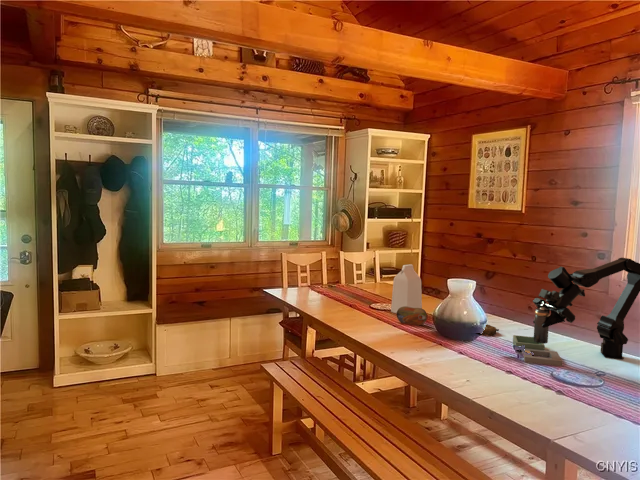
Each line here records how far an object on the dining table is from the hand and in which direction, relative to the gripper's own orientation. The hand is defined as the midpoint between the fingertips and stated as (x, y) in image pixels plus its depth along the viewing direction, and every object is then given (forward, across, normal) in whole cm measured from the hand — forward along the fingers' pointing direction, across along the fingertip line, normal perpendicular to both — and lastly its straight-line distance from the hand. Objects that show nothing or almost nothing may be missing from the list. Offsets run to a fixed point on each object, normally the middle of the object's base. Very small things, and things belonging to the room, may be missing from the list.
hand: (538, 325), depth 174 cm
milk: (+29, -73, -10) cm, 79 cm away
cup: (+7, -12, +12) cm, 18 cm away
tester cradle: (+9, +1, +10) cm, 14 cm away
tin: (+32, -52, -13) cm, 62 cm away
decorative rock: (+12, -37, +7) cm, 39 cm away
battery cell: (+4, 0, +6) cm, 7 cm away
